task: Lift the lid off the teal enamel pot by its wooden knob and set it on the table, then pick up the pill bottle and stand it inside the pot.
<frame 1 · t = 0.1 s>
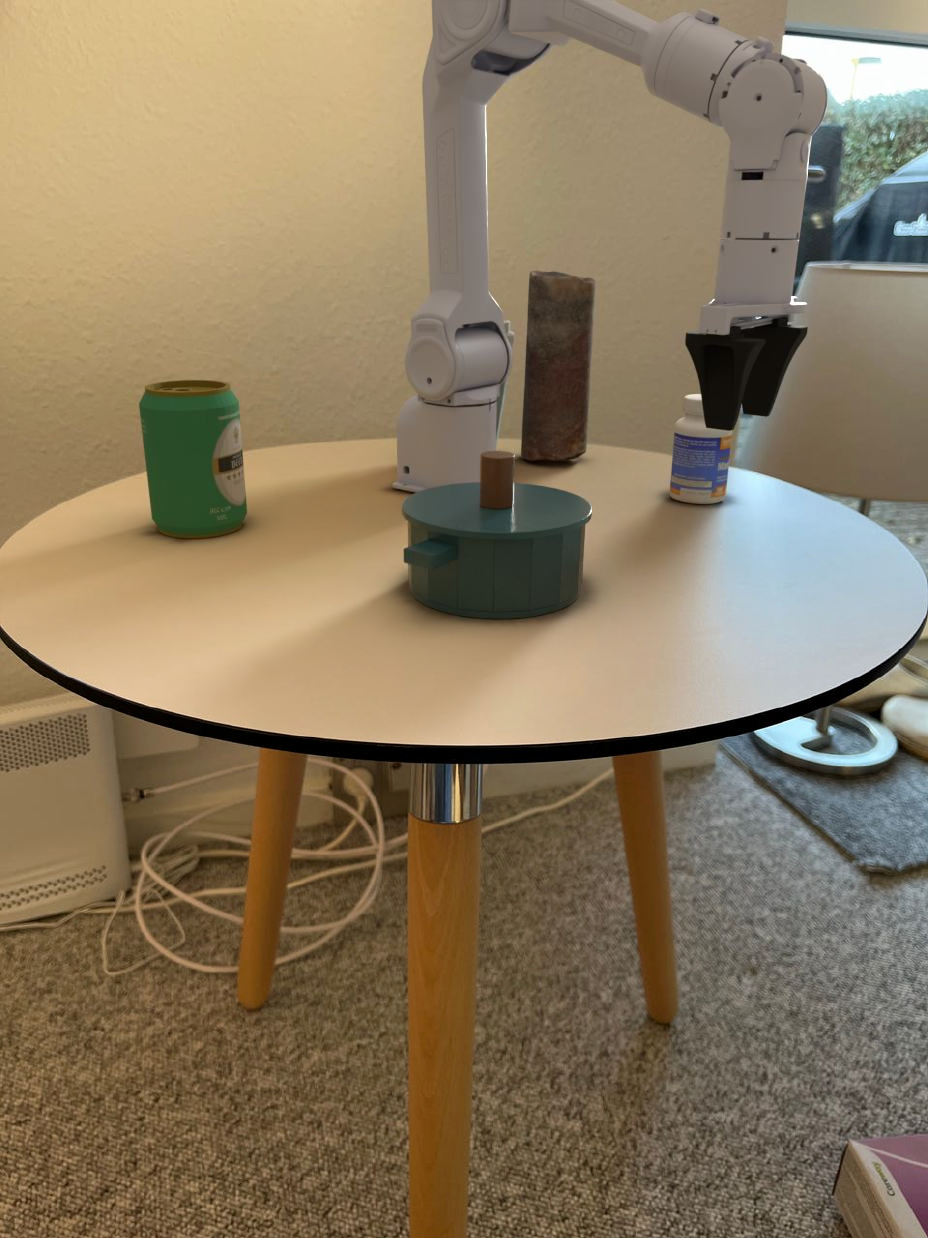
hand: (738, 421, 78), 10 cm above the table, tool pointing down, fingers open, 7 cm apart
pill bottle: (696, 499, 96), on the table
lid: (496, 511, 69), point 6 cm above the table, touching pot
beverage can: (201, 528, 85), on the table
pot: (494, 587, 72), on the table
candle: (553, 460, 111), on the table
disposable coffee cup: (465, 459, 111), on the table
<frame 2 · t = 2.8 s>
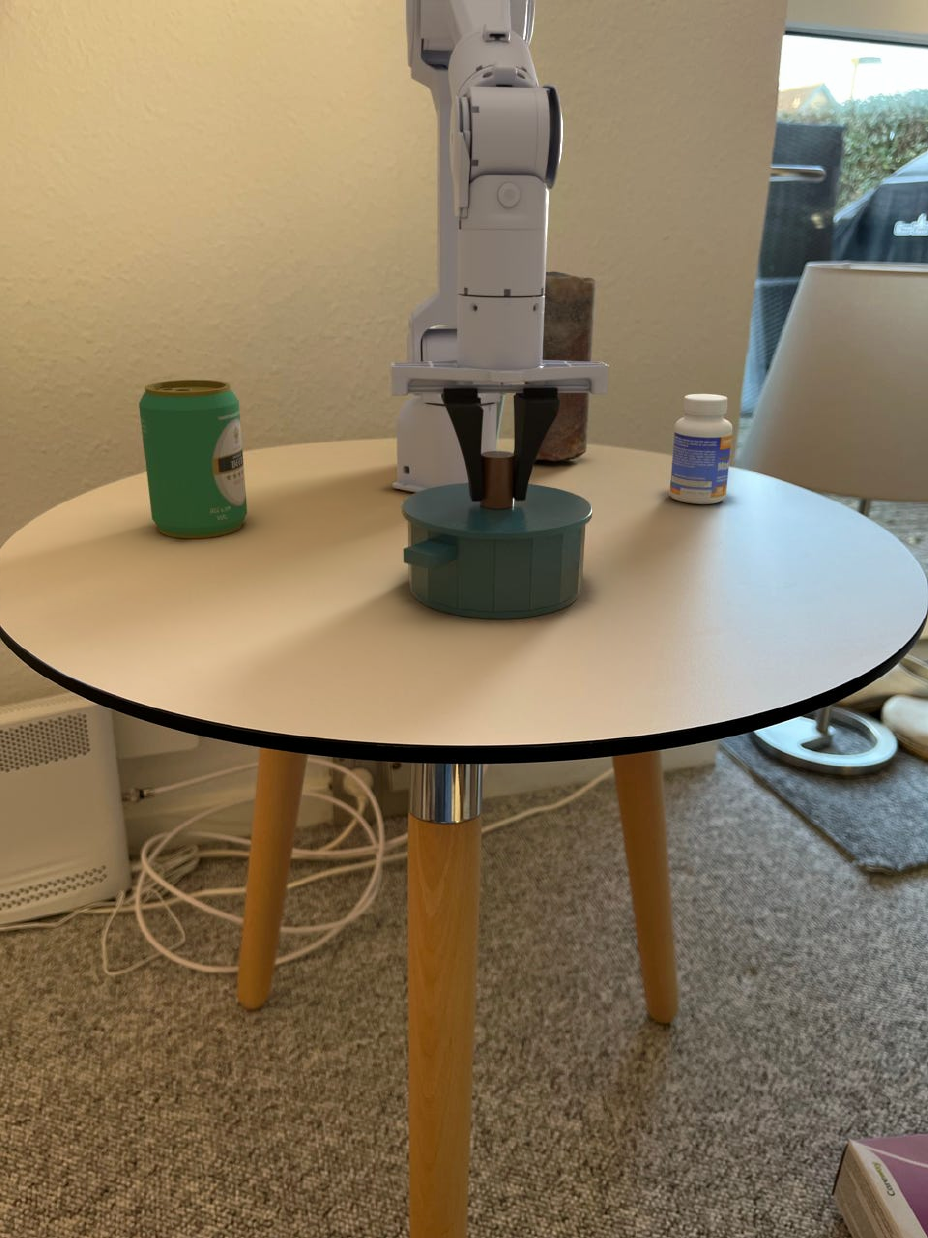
hand: (496, 497, 69), 7 cm above the table, tool pointing down, fingers closed on lid, 2 cm apart
lid: (496, 511, 69), point 6 cm above the table, touching gripper, pot
everything else where it was.
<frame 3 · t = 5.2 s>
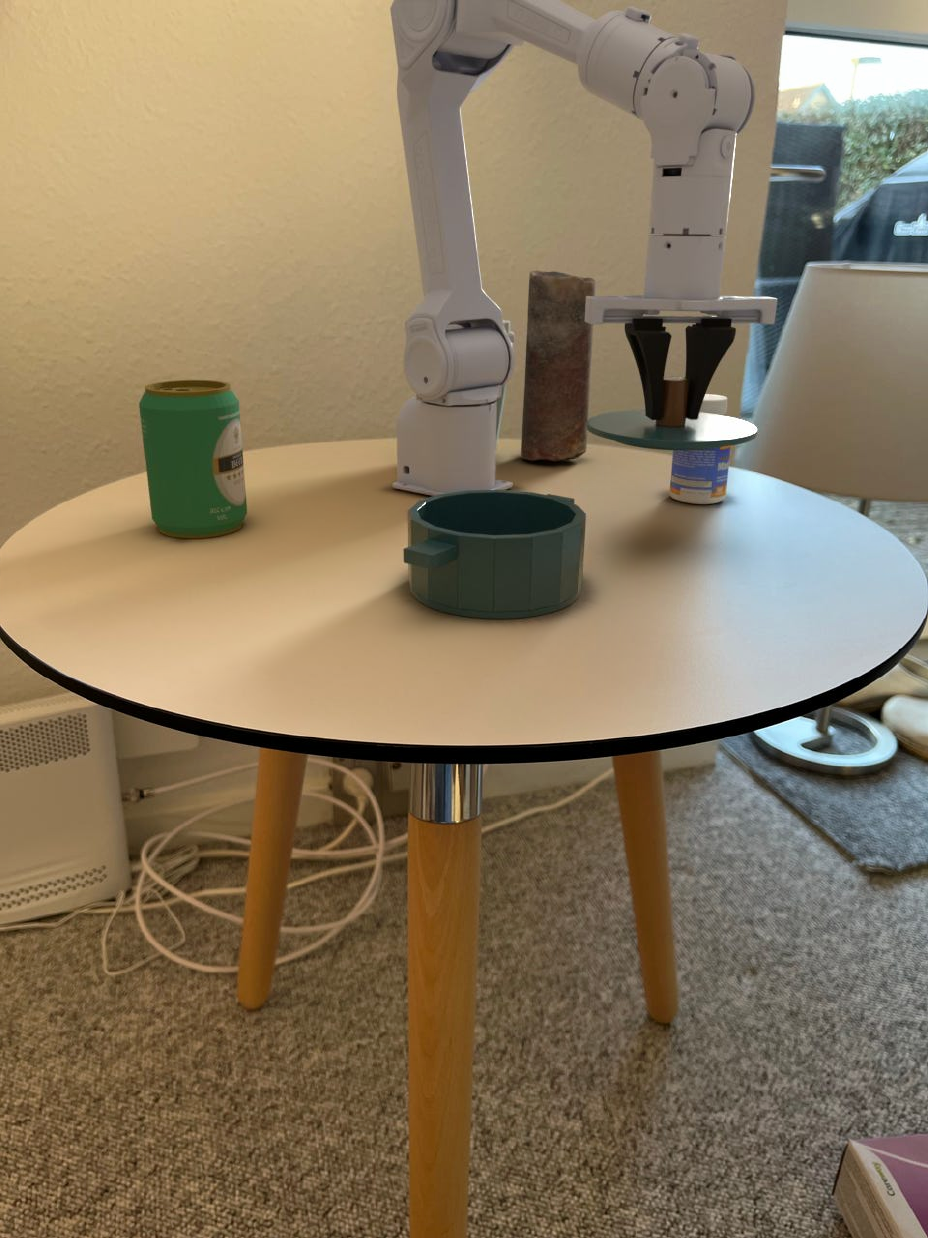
hand: (670, 417, 79), 10 cm above the table, tool pointing down, fingers closed on lid, 2 cm apart
lid: (670, 430, 79), point 9 cm above the table, touching gripper
everything else where it was.
when the fingers open (2 cm above the table, at t = 7.6 s): lid stays where it is, point 1 cm above the table.
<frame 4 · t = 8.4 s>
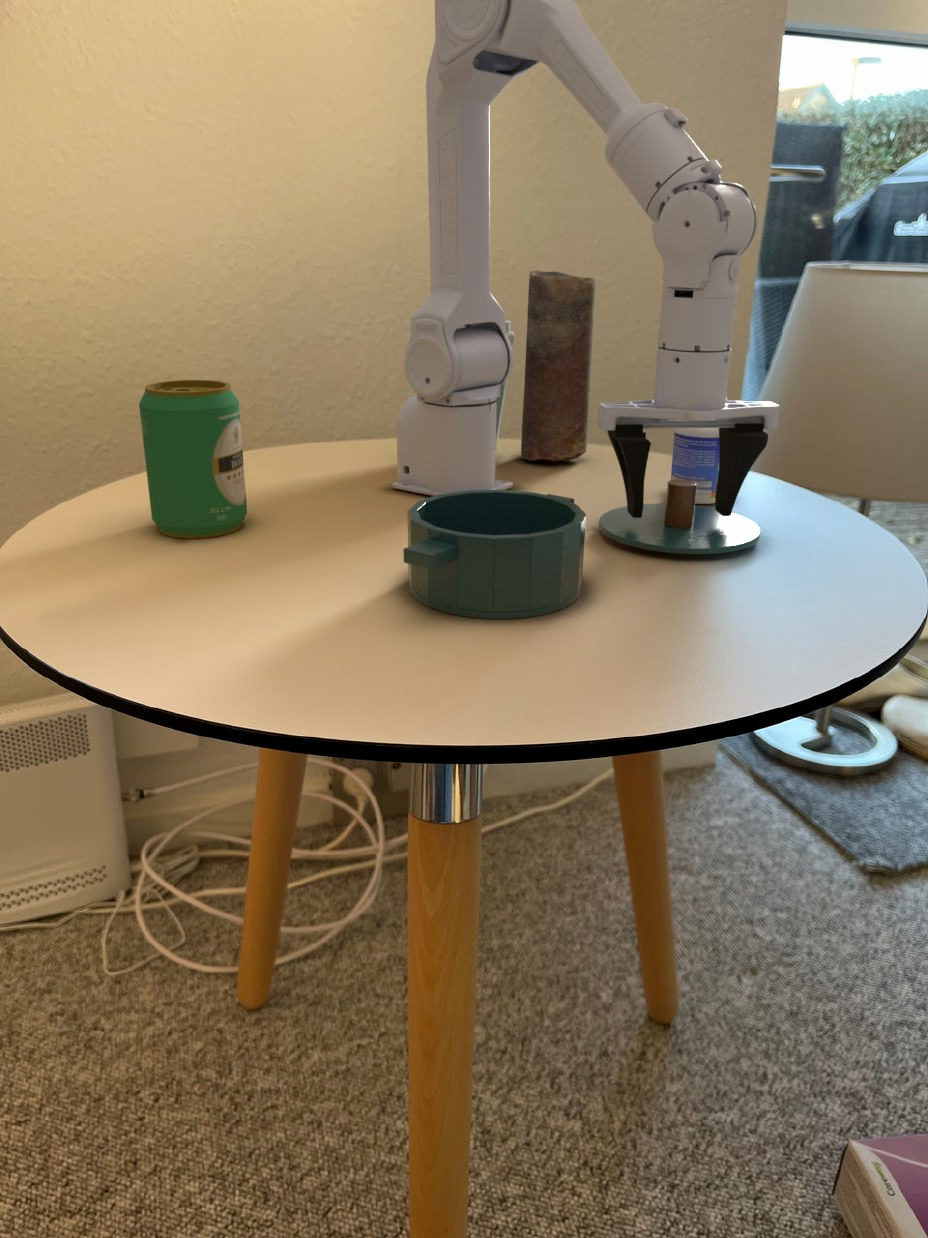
hand: (678, 513, 83), 2 cm above the table, tool pointing down, fingers open, 7 cm apart
lid: (678, 529, 83), point 1 cm above the table
everything else where it was.
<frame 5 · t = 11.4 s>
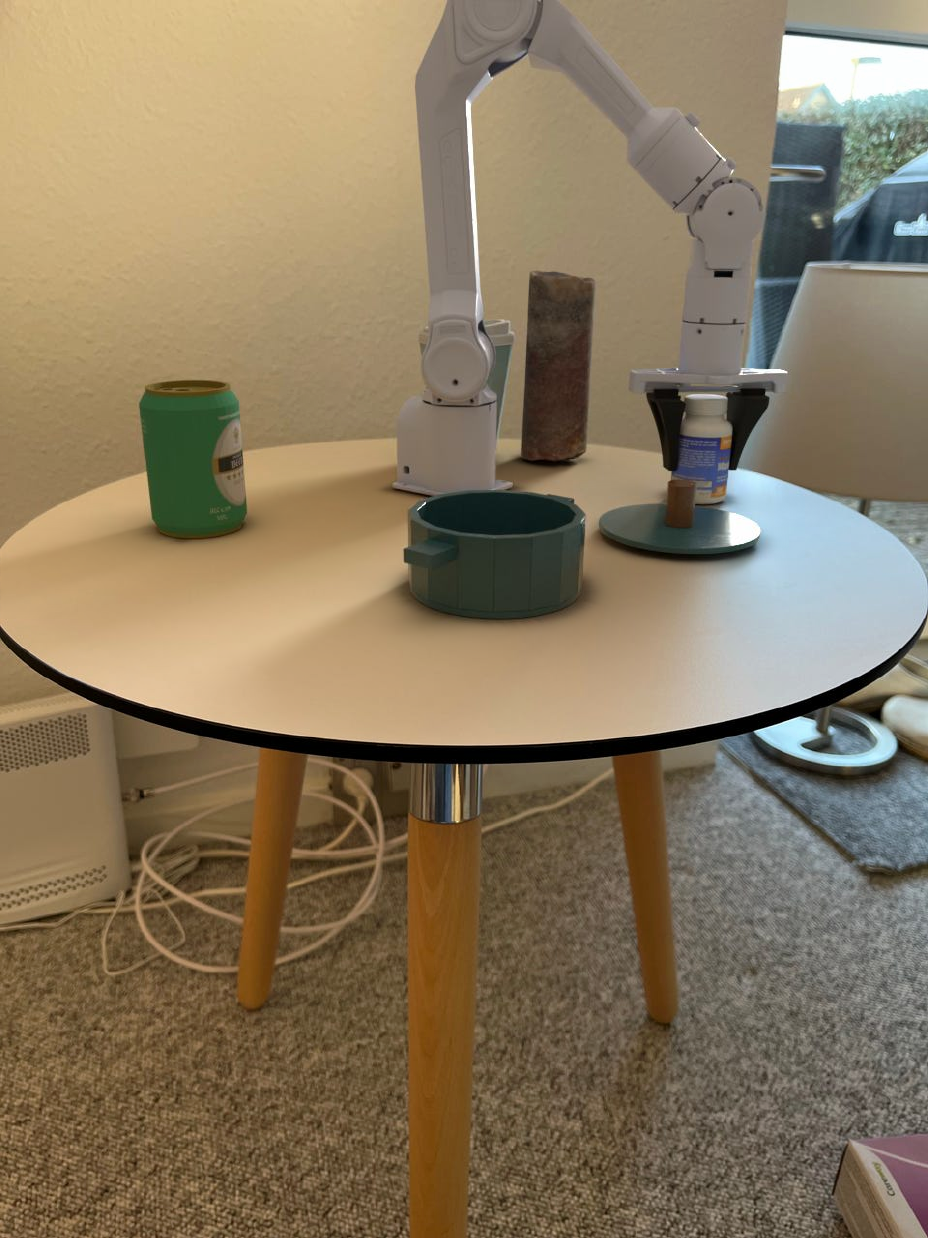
hand: (699, 468, 95), 3 cm above the table, tool pointing down, fingers closed on pill bottle, 5 cm apart
pill bottle: (696, 499, 96), on the table, touching gripper
everything else where it was.
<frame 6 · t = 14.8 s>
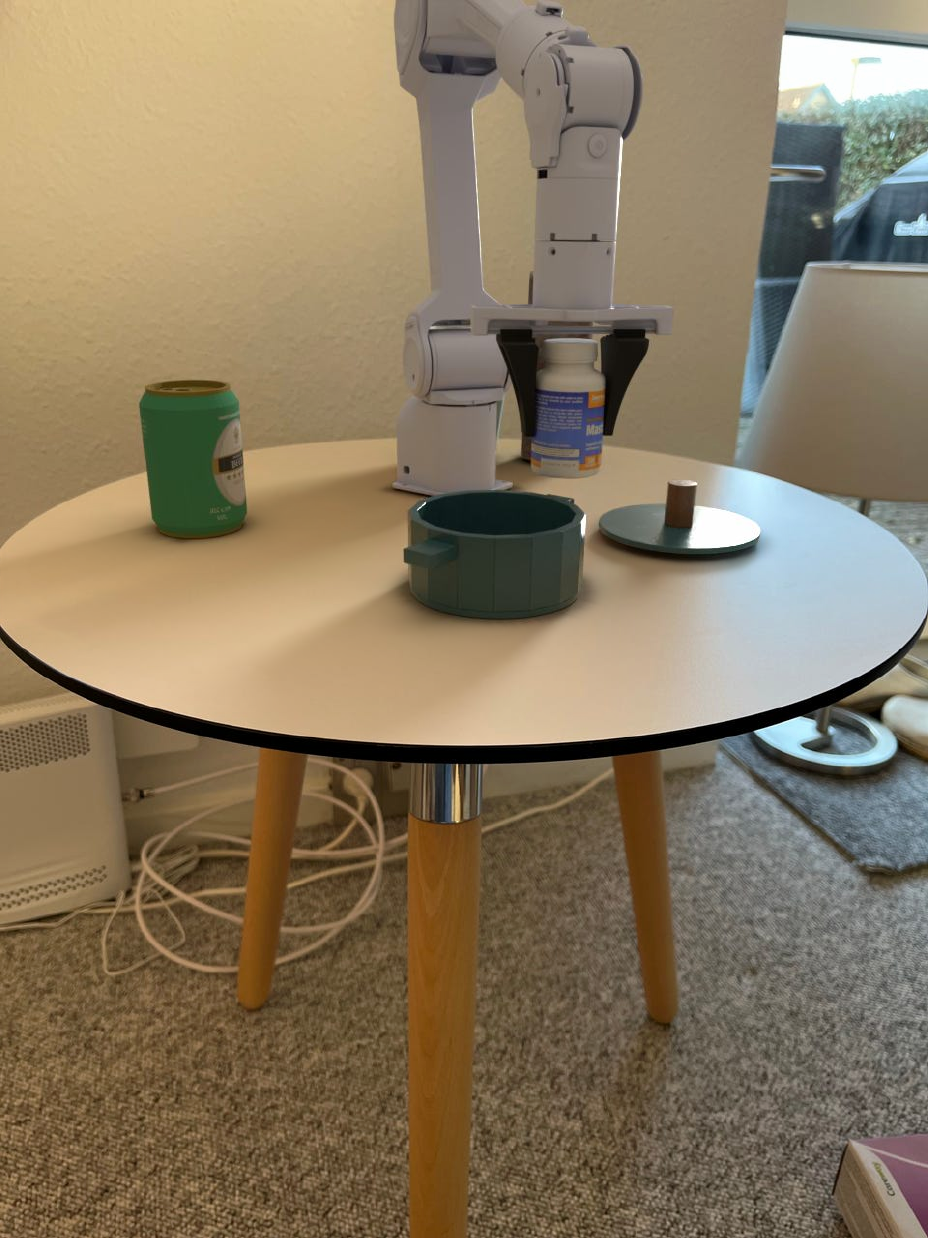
hand: (566, 433, 74), 10 cm above the table, tool pointing down, fingers closed on pill bottle, 5 cm apart
pill bottle: (565, 474, 75), point 7 cm above the table, touching gripper
everything else where it was.
when the fingers open (3 cm above the table, at t = 18.0 s): pill bottle stays where it is, resting on pot.
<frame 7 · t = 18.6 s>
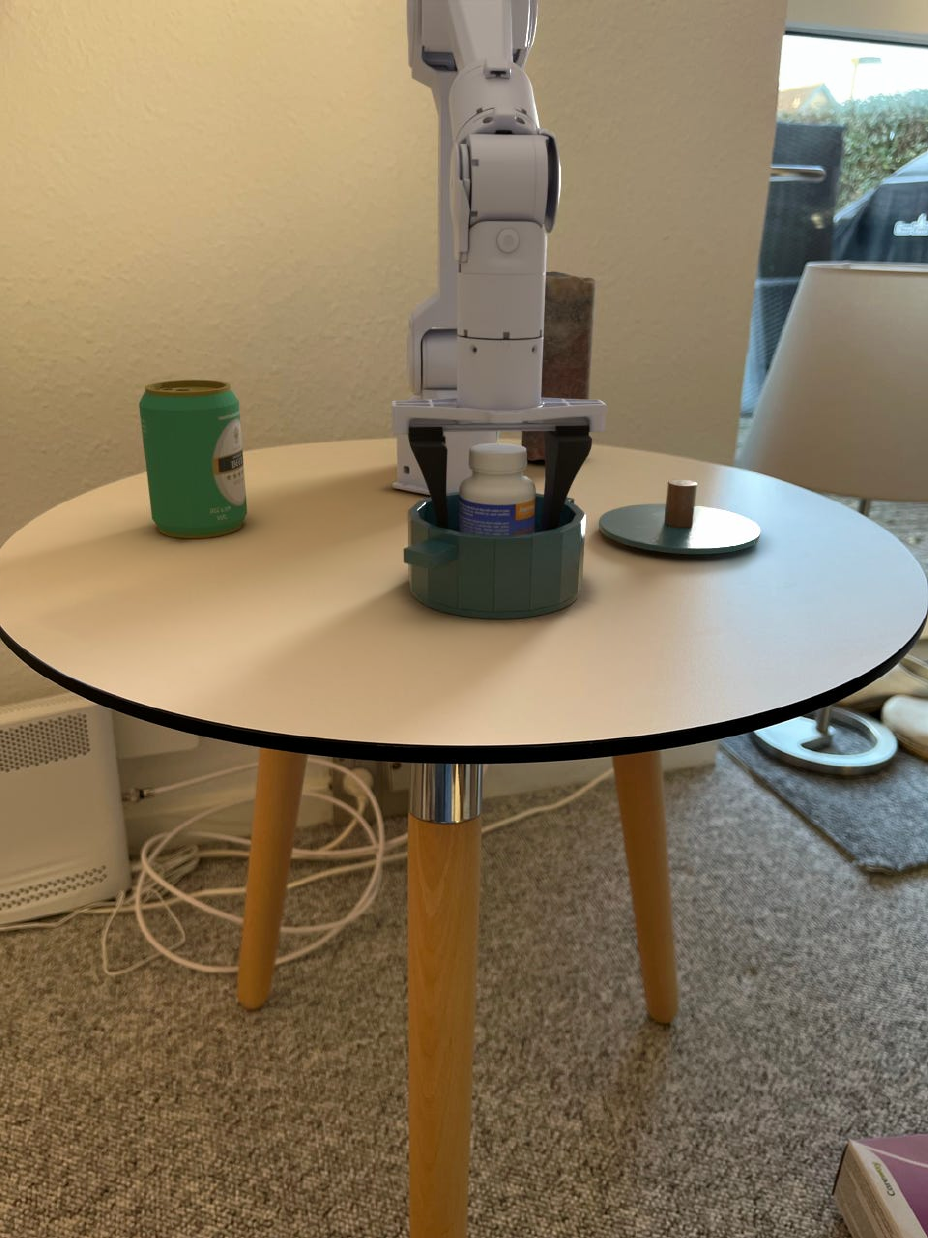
hand: (495, 532, 70), 4 cm above the table, tool pointing down, fingers open, 7 cm apart
pill bottle: (495, 583, 71), resting on pot
everything else where it was.
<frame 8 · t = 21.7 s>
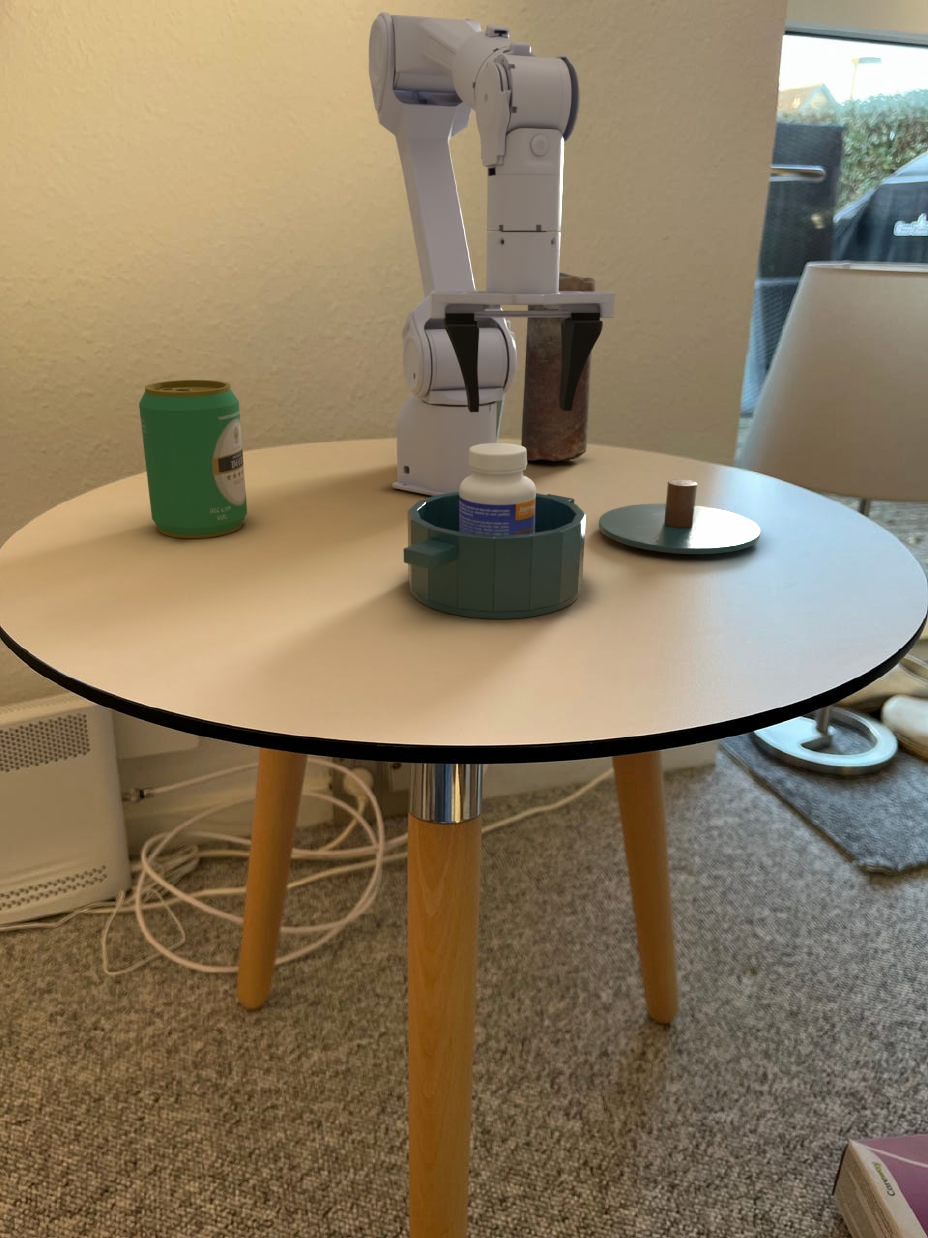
hand: (519, 409, 81), 10 cm above the table, tool pointing down, fingers open, 7 cm apart
nothing on the table moved.
at the end: lid point 0.6 cm above the table; pill bottle 0.1 cm off-centre in the pot, point 0.3 cm above the pot's base; pill bottle tilted 0° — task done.
